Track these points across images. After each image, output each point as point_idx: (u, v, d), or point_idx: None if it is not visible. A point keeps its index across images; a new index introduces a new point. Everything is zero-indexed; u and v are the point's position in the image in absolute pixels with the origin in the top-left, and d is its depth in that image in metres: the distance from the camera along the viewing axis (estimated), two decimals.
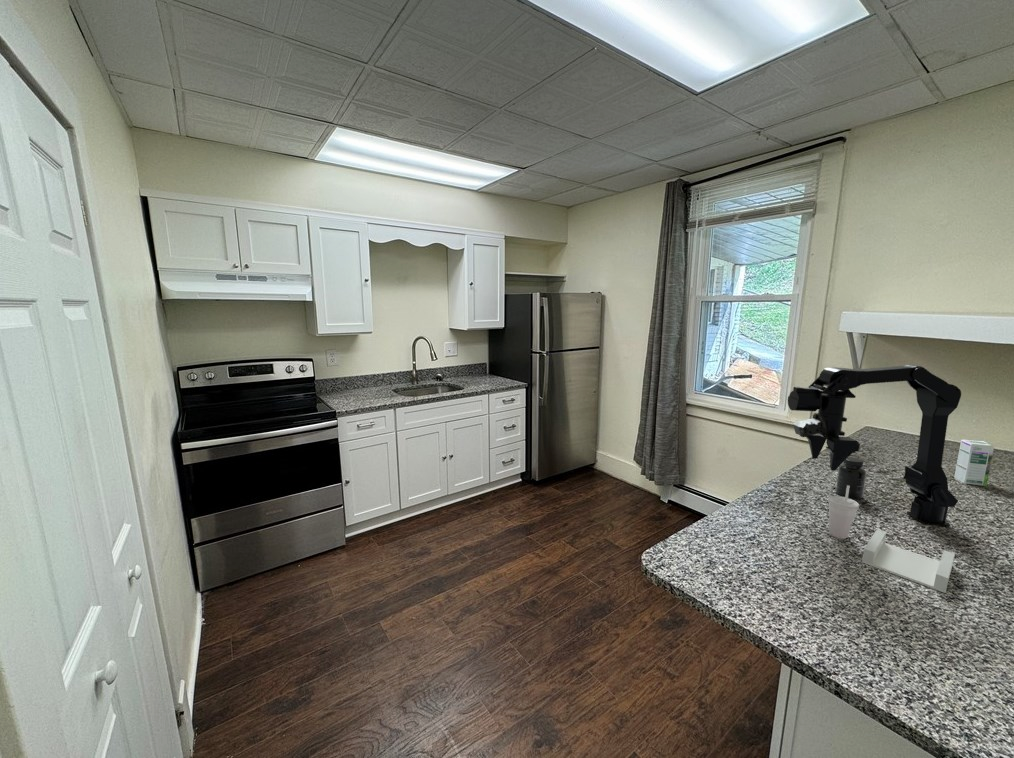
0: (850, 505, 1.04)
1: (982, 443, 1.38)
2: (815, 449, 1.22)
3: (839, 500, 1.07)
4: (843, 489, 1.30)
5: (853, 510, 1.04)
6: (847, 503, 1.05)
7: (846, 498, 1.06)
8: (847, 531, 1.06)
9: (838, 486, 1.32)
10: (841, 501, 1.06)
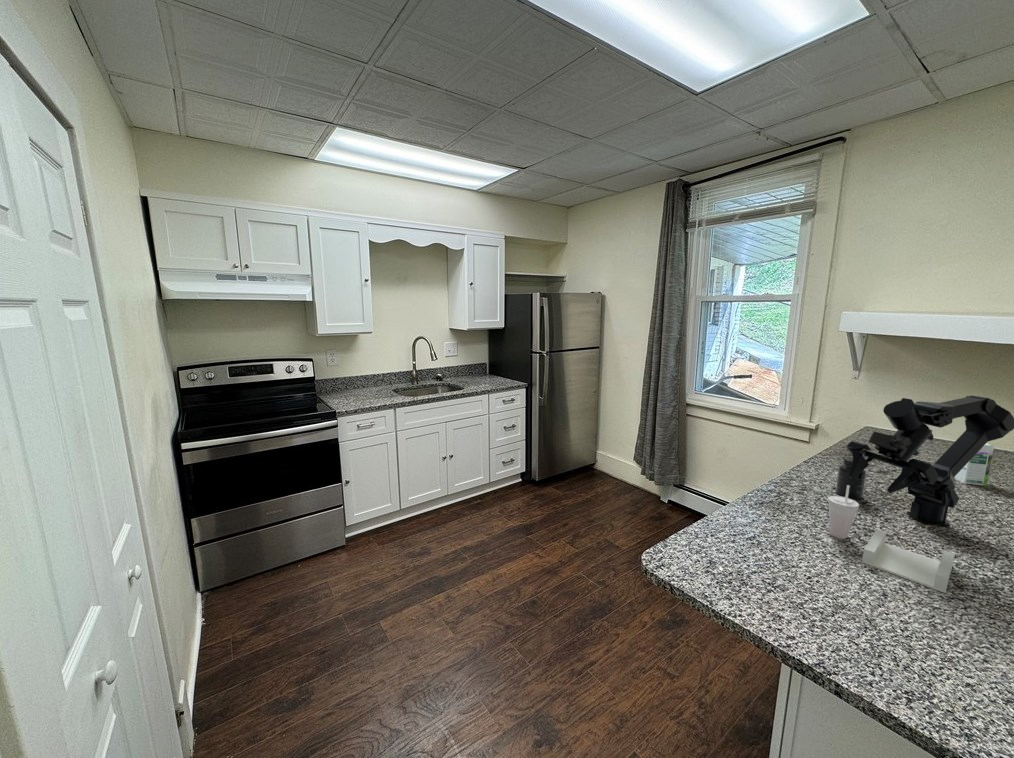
0: (850, 505, 1.04)
1: None
2: (857, 469, 1.12)
3: (839, 500, 1.07)
4: (843, 489, 1.30)
5: (853, 510, 1.04)
6: (847, 503, 1.05)
7: (846, 498, 1.06)
8: (847, 531, 1.06)
9: (838, 486, 1.32)
10: (841, 501, 1.06)
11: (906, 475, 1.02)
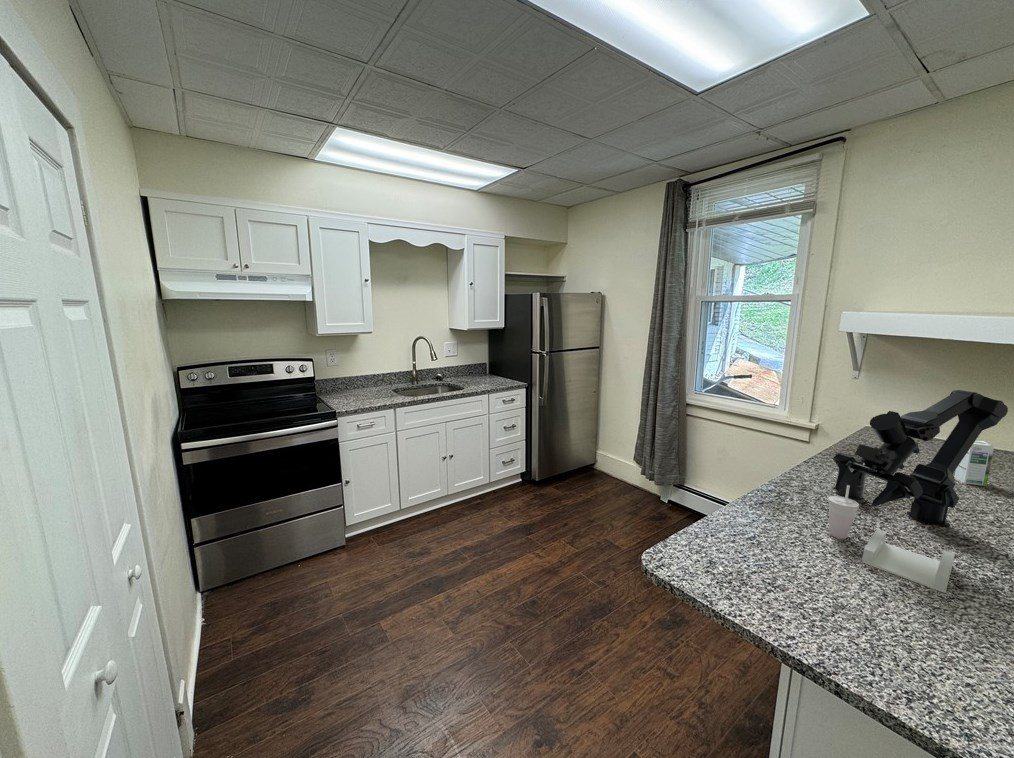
0: (850, 505, 1.04)
1: (982, 443, 1.38)
2: (842, 481, 1.12)
3: (839, 500, 1.07)
4: (843, 489, 1.30)
5: (853, 510, 1.04)
6: (847, 503, 1.05)
7: (846, 498, 1.06)
8: (847, 531, 1.06)
9: None
10: (841, 501, 1.06)
11: (891, 489, 1.01)
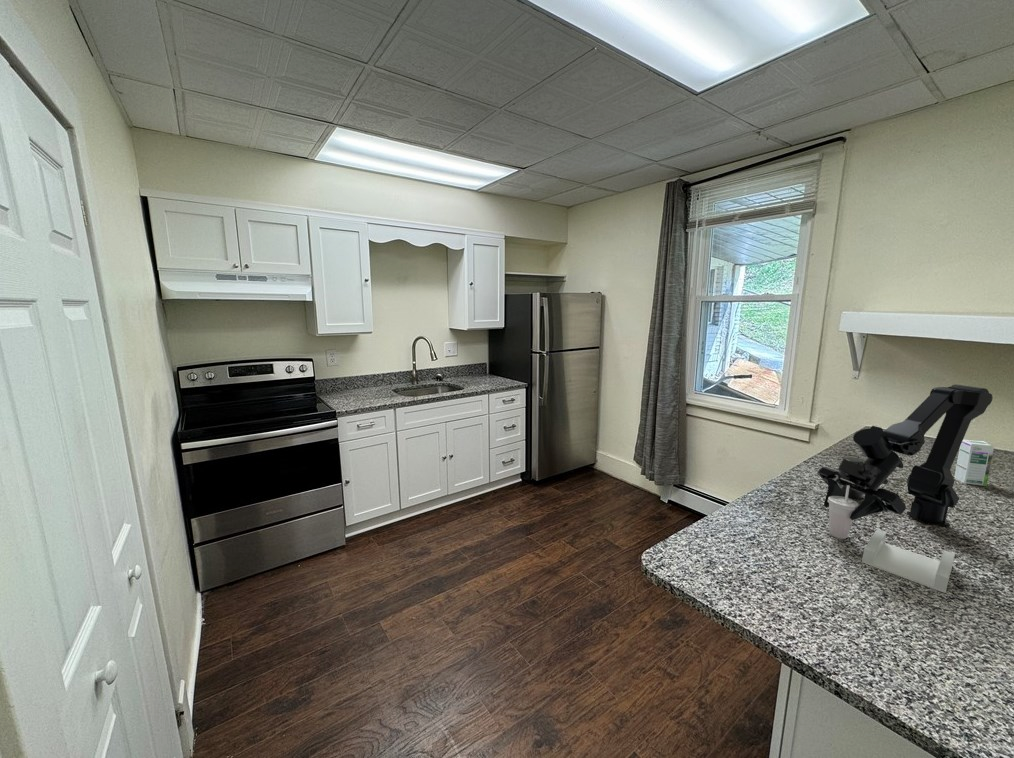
0: (850, 505, 1.04)
1: (982, 443, 1.38)
2: None
3: (839, 500, 1.07)
4: (843, 489, 1.30)
5: (853, 510, 1.04)
6: (847, 503, 1.05)
7: (846, 498, 1.06)
8: (847, 531, 1.06)
9: None
10: (841, 501, 1.06)
11: (868, 502, 1.02)
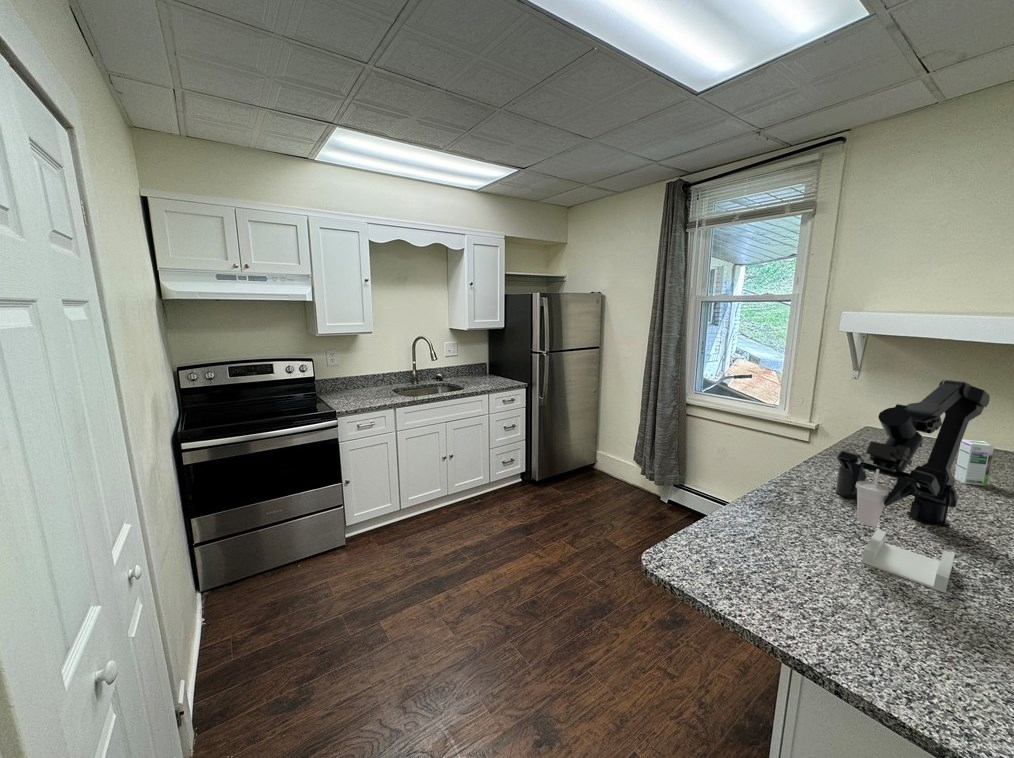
0: (882, 490, 0.98)
1: (982, 443, 1.38)
2: None
3: (869, 485, 1.00)
4: (843, 489, 1.30)
5: (886, 495, 0.97)
6: (878, 488, 0.99)
7: (876, 483, 1.00)
8: (878, 518, 0.99)
9: (838, 486, 1.32)
10: (871, 486, 0.99)
11: (902, 486, 0.96)
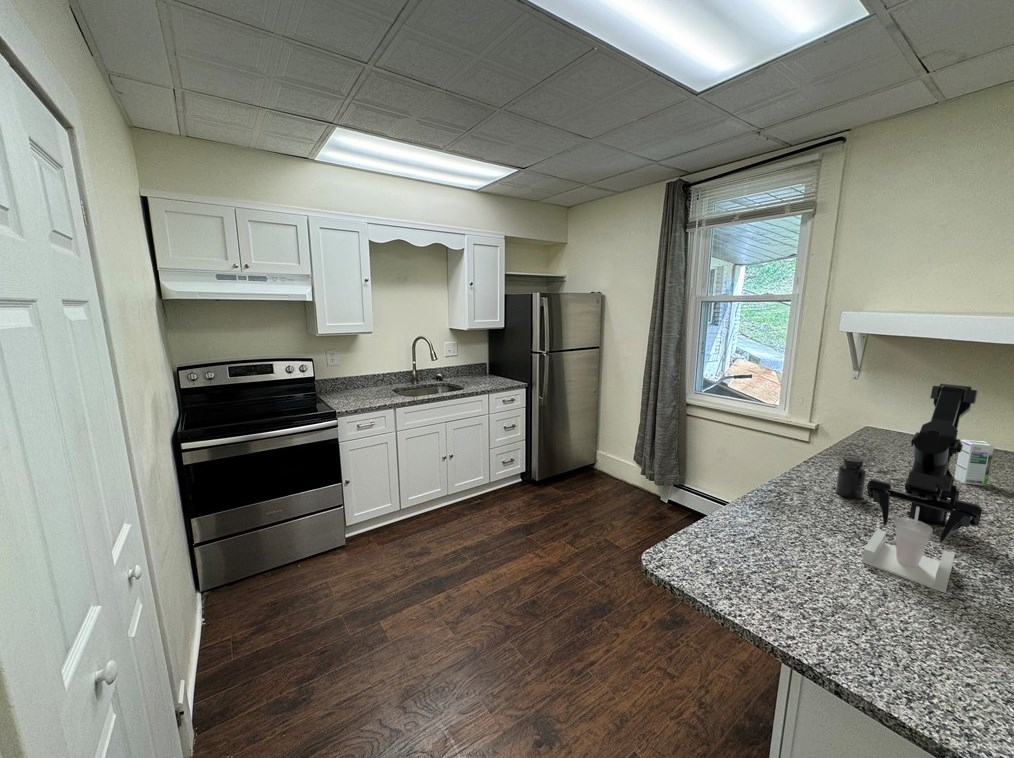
0: (926, 529, 0.92)
1: (982, 443, 1.38)
2: (888, 514, 0.98)
3: (910, 525, 0.93)
4: (843, 489, 1.30)
5: None
6: (921, 527, 0.92)
7: (916, 521, 0.94)
8: (921, 557, 0.94)
9: (838, 486, 1.32)
10: (913, 526, 0.93)
11: (957, 521, 0.89)
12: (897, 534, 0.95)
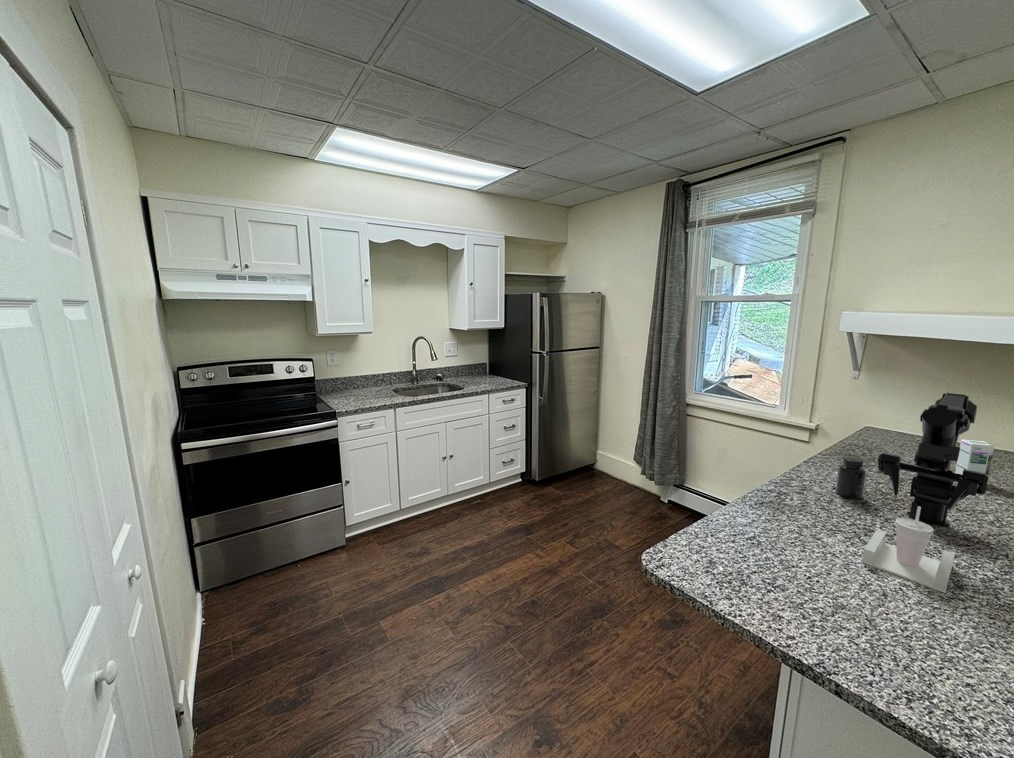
0: (927, 529, 0.92)
1: (982, 443, 1.38)
2: (898, 485, 1.03)
3: (911, 524, 0.94)
4: (843, 489, 1.30)
5: (931, 534, 0.92)
6: (922, 527, 0.93)
7: (917, 521, 0.94)
8: None
9: (838, 486, 1.32)
10: (914, 525, 0.93)
11: (964, 489, 0.94)
12: (898, 534, 0.95)
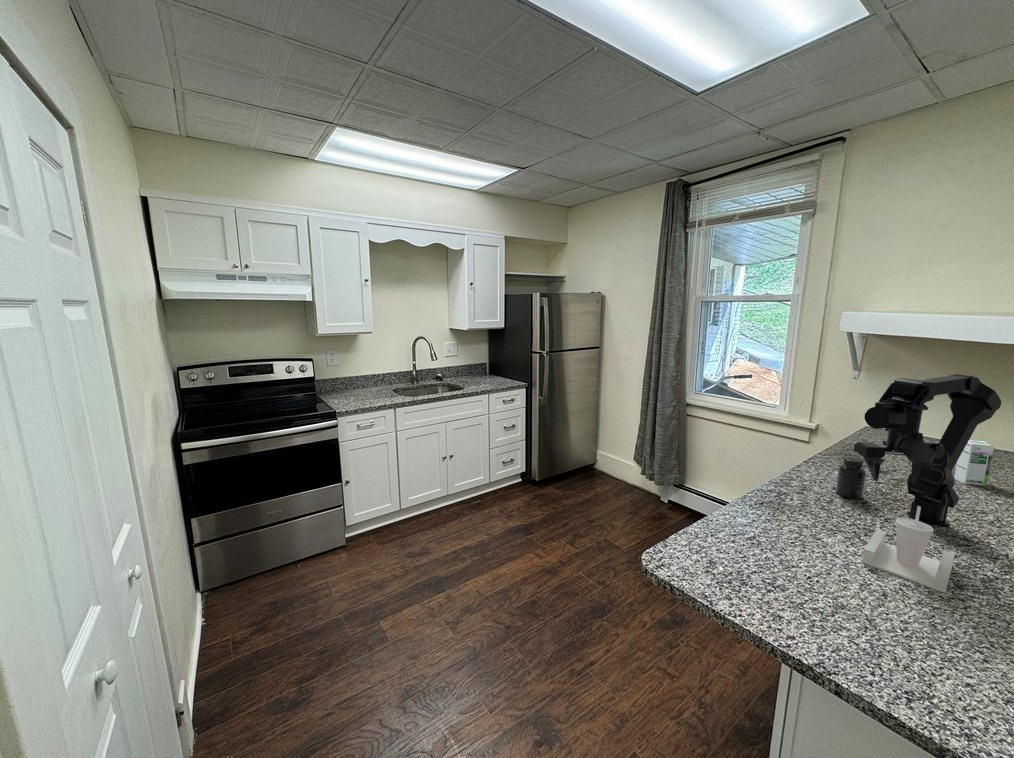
0: (927, 529, 0.92)
1: (982, 443, 1.38)
2: None
3: (911, 524, 0.94)
4: (843, 489, 1.30)
5: (931, 534, 0.92)
6: (922, 527, 0.93)
7: (917, 521, 0.94)
8: None
9: (838, 486, 1.32)
10: (914, 525, 0.93)
11: (929, 467, 1.07)
12: (898, 534, 0.95)
